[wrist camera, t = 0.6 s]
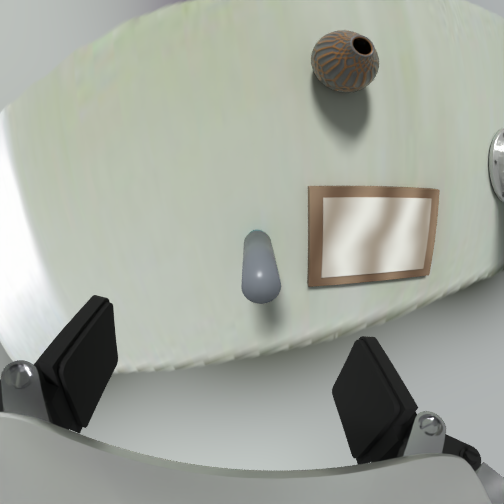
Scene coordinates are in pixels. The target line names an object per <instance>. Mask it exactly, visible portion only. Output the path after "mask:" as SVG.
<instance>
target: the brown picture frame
mask: <svg viewBox="0 0 504 504" xmlns="http://www.w3.org/2000/svg"><path fill="white" fill-rule="evenodd" d="M438 205H439V190H438V189H431V188H413V187H387V186H308V280H307V283H308V286H309V287H313V286H326V285H338V284H350V283H361V282H371V281H381V280H391V279H400V278H409V277H418V276H426V275H429V273H430V267H431V261H432V255H433V249H434V242H435V234H436V226H437V216H438Z"/></svg>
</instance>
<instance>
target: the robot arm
mask: <svg viewBox="0 0 504 504" xmlns="http://www.w3.org/2000/svg"><path fill="white" fill-rule="evenodd" d="M489 171H490V178H491V182H492V186H493V189H494V191H495V193H496V195H497V197H498V198H499V199H500V200H501V201H502V202H504V129H502V130H499V131H498V132H497V133H496V135H495V136H494V138H493V141H492V143H491V148H490V154H489ZM117 362H118V353H117V345H116V335H115V325H114V312H113V304H112V303H109V299H108V298H105V297H101V296H97V295H94V296H92V297H91V298H90V300H89V301H88V302H87V303H86V304H85V305H84V306H83V307H82V308H81V309H80V311H79V312H78V313H77V314H76V315H75V316H74V317H73V318H72V320H71V321H70V322H69V323H68V324H67V325H66V326H65V327H64V328H63V330H62V331H61V332H60V333H59V334H58V336H57V337H56V338H55V339H54V340H53V342H52V343H51V344H50V345H49V346H48V348H47V349H46V350H45V351H44V353H43V354H42V355H41V356H40V358H39V359H38V360H37V361H36V363H35V364H34V365H33V364H32V363H30V362H28V361H24V360H19V361H14V362H12V363H10V364H8V365H7V366H6V367H5V368H4V369H3V371H2V374H1V379H0V504H504V477H502V476H501V475H500V474H498V473H497V472H496V471H495V470H493V469H492V468H491V467H489V466H488V465H487V464H486V463H484V462H483V463H482V464H481V457H480V454H479V452H478V451H477V450H476V449H475V448H474V447H472V446H470V445H468V444H466V443H463V442H461V441H459V440H457V439H455V438H453V437H450V436H448V435H446V434H445V433H446V426H445V423H444V421H443V420H442V419H441V418H440V417H439V416H438V415H437V414H435V413H433V412H428V411H424V412H420V413H419V414H418V415H417V414H416V412H415V411H416V410H417V408H418V407H417V405H416V403H415V401H414V399H413V398H412V396H411V394H410V393H409V391H408V389H407V388H406V386H405V384H404V383H403V381H402V380H401V378H400V376H399V374H398V373H397V371H396V369H395V368H394V366H393V364H392V363H391V361H390V360H389V358H388V356H387V355H386V353H385V352H384V350H383V349H382V347H381V345H380V344H379V342H378V341H377V339H376V338H375V337H364V336H363V337H360V338H359V340H356V341H355V343H354V345H353V347H352V349H351V352H350V354H349V356H348V358H347V360H346V362H345V364H344V366H343V368H342V370H341V372H340V374H339V376H338V378H337V380H336V382H335V384H334V386H333V389H332V394H333V398H334V401H335V404H336V407H337V410H338V413H339V416H340V419H341V422H342V425H343V428H344V431H345V435H346V438H347V441H348V444H349V447H350V450H351V454H352V456H353V458H356V460H357V463H358V465H353V466H345V467H337V468H327V469H315V470H293V471H261V470H240V469H228V468H218V467H209V466H202V465H195V464H188V463H182V462H177V461H171V460H166V459H162V458H157V457H153V456H149V455H144V454H140V453H137V452H133V451H129V450H126V449H122V448H119V447H116V446H112V445H109V444H106V443H103V442H100V441H97V440H94V439H91V438H88V437H86V436H83V435H80V434H78V433H80V431H81V429H82V427H85V428H86V427H87V425H88V423H89V421H90V419H91V417H92V415H93V413H94V410H95V408H96V406H97V404H98V402H99V400H100V398H101V396H102V393H103V391H104V389H105V387H106V385H107V383H108V381H109V379H110V377H111V375H112V373H113V371H114V369H115V367H116V365H117ZM69 429H70V430H73V431H75V432H77V433H75V432H72V431H70V430H69ZM370 462H371V463H370ZM359 464H360V465H359Z"/></svg>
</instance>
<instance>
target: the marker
mask: <svg viewBox="0 0 504 504" xmlns="http://www.w3.org/2000/svg"><path fill="white" fill-rule="evenodd" d="M280 289H281V282H280V278H279V273H278V269H277V265H276V261H275V256H274V252H273V248H272V244H271V240H270V238H269V236H268V235H267V234H266V233H264V232H263V231H261V230H253V231H251V232H250V233H249V234H248V235H247V236H246V238H245V240H244V252H243V269H242V292H243V294H244V296H245V297H246V298H247V299H248V300H250V301H252V302H254V303H259V304H262V303H268V302H270V301H272V300H273V299H275V298H276V297H277V296H278V294H279V292H280Z"/></svg>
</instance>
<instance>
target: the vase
mask: <svg viewBox="0 0 504 504" xmlns="http://www.w3.org/2000/svg"><path fill="white" fill-rule="evenodd" d="M311 64H312V68H313V71H314V73H315V75H316V77H317V78H318V79H319V80H320V81H321V82H322V83H323V84H324V85H325V86H327V87H329V88H330V89H333V90H336V91H340V92H354V91H358V90H360V89H363V88H365V87H366V86H368V85H369V84H370V83H371V82H372V81H373V80H374V78H375V77H376V74H377V72H378V68H379V58H378V54H377V52H376V49H375V48H374V45H373V43H372V42H371V41H370V40H369V39H368V38H367V37H365V36H362V35H360V34H358V33H355V32H352V31H345V30H343V31H335V32H331V33H329V34H327V35H325V36H323V37H322V38H321V39H320V40H319V41H318V42H317V43H316V45H315V47H314V49H313V51H312V55H311Z"/></svg>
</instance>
